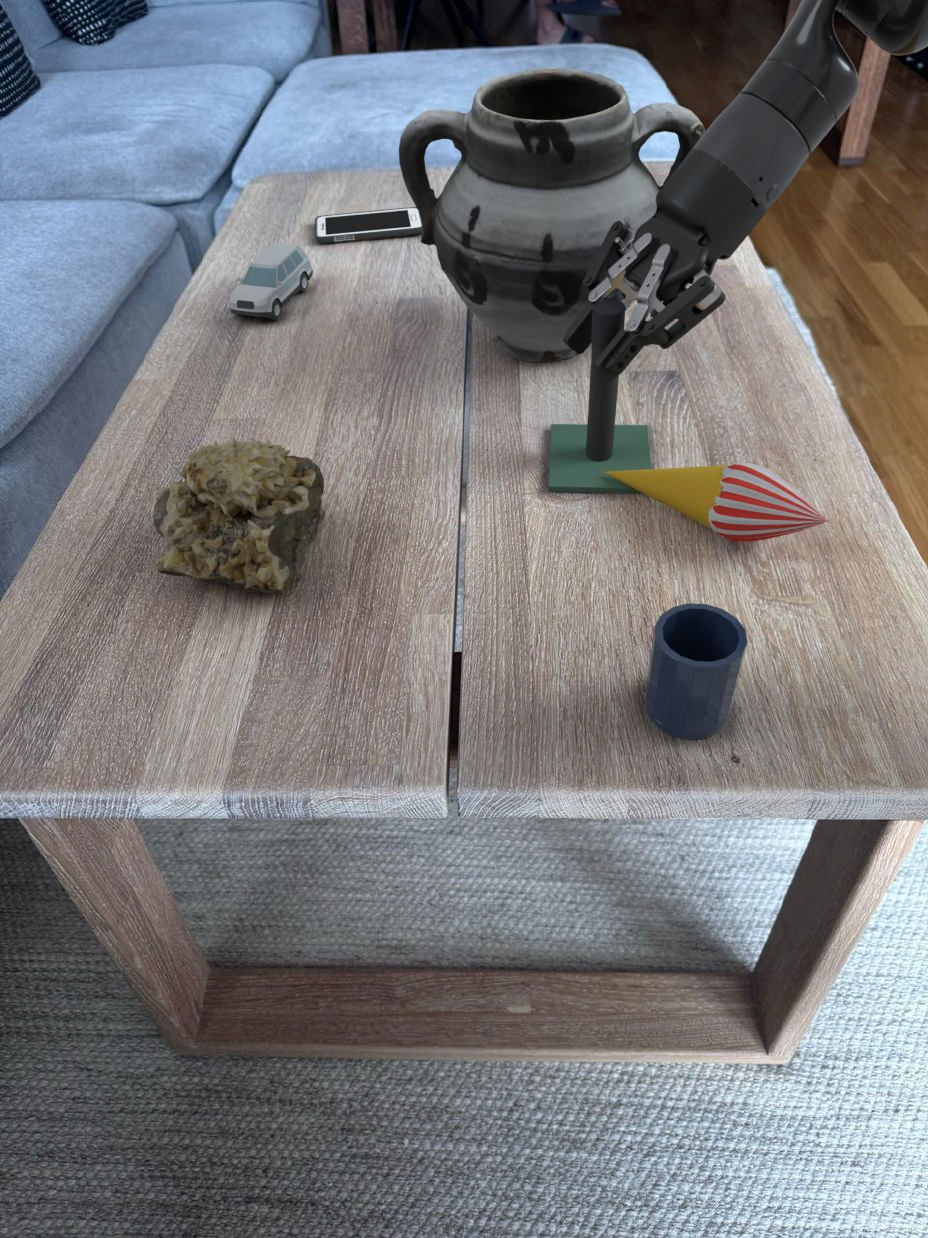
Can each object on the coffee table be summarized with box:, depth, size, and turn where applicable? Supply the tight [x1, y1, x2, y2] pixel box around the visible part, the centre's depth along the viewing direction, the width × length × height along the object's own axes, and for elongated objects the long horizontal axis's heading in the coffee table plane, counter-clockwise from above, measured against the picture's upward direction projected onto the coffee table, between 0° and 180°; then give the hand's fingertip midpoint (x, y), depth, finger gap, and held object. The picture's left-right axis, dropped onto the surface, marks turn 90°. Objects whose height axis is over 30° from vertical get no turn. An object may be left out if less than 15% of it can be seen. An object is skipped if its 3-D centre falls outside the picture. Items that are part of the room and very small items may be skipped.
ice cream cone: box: [604, 462, 829, 543], centre depth 74 cm, size 6×6×20 cm
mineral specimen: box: [152, 438, 326, 596], centre depth 71 cm, size 14×13×10 cm
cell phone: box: [314, 206, 422, 244], centre depth 123 cm, size 8×15×1 cm, turn 97°
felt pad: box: [547, 423, 652, 494], centre depth 82 cm, size 9×10×1 cm
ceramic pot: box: [398, 67, 706, 363], centre depth 90 cm, size 29×23×25 cm
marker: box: [586, 300, 627, 461], centre depth 77 cm, size 3×3×14 cm
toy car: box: [229, 242, 314, 321], centre depth 107 cm, size 6×13×5 cm, turn 162°
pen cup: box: [644, 603, 749, 740], centre depth 59 cm, size 6×6×7 cm
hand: (586, 360), depth 75 cm, fingers open, 4 cm apart
